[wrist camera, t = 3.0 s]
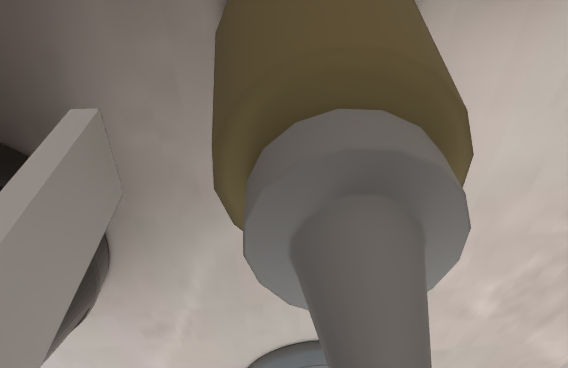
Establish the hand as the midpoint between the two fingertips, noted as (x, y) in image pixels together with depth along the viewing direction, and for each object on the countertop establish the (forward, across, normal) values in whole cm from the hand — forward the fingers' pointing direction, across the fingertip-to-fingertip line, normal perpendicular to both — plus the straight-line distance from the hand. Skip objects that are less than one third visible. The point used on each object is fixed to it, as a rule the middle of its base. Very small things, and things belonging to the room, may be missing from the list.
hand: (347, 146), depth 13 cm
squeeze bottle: (+11, 0, 0) cm, 11 cm away
